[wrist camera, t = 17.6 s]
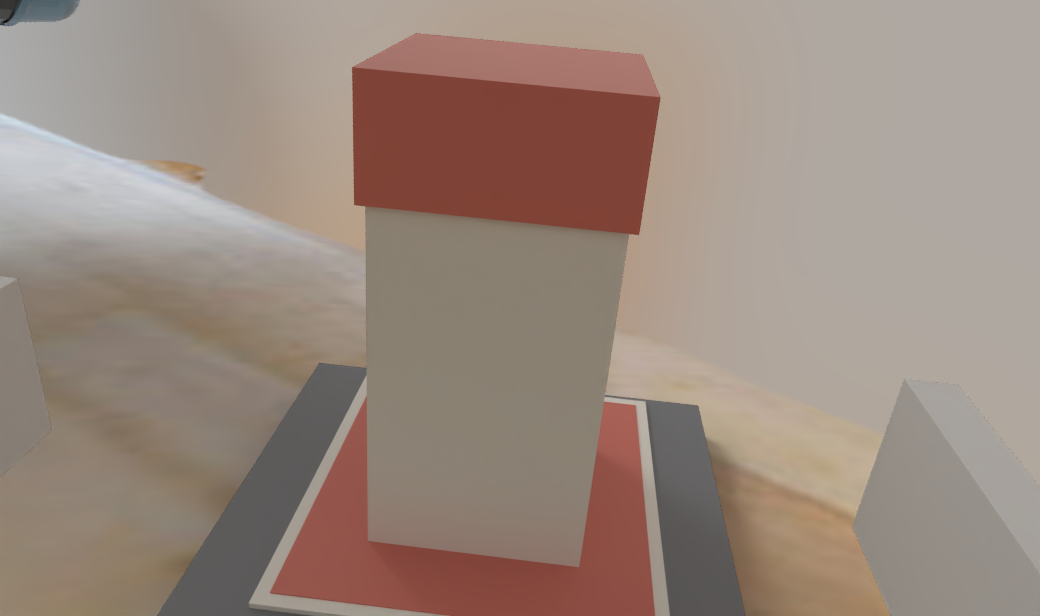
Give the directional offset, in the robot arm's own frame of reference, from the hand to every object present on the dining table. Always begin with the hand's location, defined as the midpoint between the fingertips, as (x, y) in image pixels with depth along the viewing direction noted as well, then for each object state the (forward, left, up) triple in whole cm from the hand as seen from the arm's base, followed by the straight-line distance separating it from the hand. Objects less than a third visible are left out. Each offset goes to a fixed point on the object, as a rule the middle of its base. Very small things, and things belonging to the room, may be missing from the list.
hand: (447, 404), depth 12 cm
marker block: (-10, 0, -9) cm, 13 cm away
